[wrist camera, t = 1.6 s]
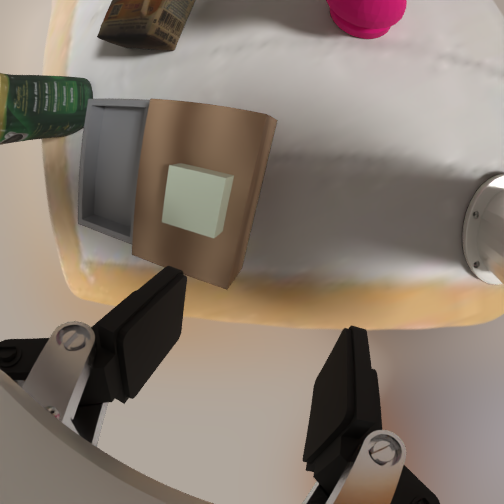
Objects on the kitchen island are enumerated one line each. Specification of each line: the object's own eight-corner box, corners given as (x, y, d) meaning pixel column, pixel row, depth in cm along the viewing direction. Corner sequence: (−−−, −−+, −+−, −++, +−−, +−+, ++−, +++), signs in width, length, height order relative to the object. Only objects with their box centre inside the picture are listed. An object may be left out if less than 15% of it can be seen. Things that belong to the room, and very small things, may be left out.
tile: (234, 175, 22) (225, 178, 21) (222, 231, 24) (214, 238, 23) (180, 163, 23) (169, 165, 21) (172, 216, 25) (161, 222, 23)
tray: (168, 103, 26) (153, 100, 24) (149, 237, 33) (135, 245, 30) (104, 100, 28) (88, 99, 25) (93, 217, 34) (78, 223, 31)
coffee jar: (96, 71, 26) (-25, 62, 10) (96, 125, 29) (-31, 140, 12) (55, 93, 29) (-48, 99, 12) (55, 141, 32) (-50, 163, 15)
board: (277, 120, 25) (266, 114, 20) (241, 268, 31) (227, 289, 27) (176, 103, 26) (150, 98, 22) (156, 239, 33) (131, 254, 28)
